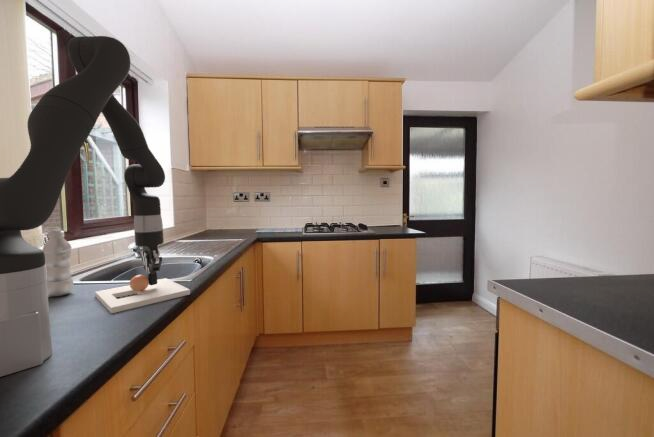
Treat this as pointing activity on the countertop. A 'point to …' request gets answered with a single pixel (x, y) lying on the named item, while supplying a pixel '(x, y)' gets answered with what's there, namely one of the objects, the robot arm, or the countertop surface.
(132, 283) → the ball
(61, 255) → the plastic bottle
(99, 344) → the countertop surface
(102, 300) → the white square board
